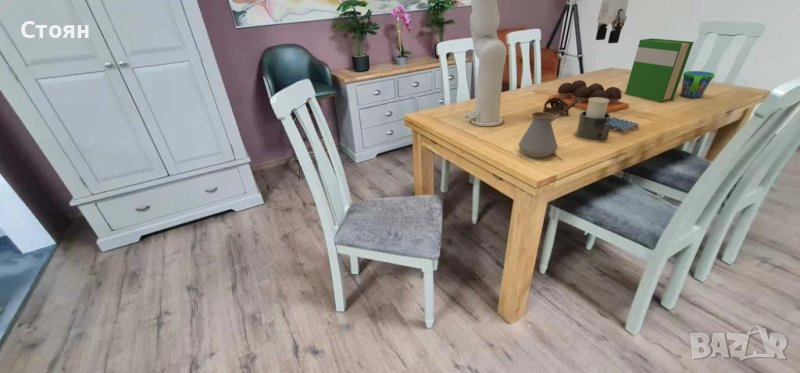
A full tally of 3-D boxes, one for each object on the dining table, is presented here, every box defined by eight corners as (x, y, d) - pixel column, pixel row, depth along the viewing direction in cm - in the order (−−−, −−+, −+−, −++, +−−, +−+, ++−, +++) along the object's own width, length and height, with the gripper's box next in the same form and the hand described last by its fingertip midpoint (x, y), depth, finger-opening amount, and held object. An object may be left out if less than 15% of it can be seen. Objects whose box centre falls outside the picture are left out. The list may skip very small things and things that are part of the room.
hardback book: (673, 100, 148) (693, 41, 136) (660, 102, 146) (680, 43, 134) (636, 91, 163) (652, 38, 151) (624, 93, 161) (640, 39, 149)
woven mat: (594, 127, 125) (595, 121, 124) (611, 121, 130) (612, 116, 129) (621, 135, 117) (623, 129, 116) (639, 128, 122) (641, 123, 121)
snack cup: (680, 90, 160) (688, 68, 155) (708, 94, 153) (717, 71, 148) (672, 98, 151) (680, 74, 146) (702, 101, 144) (711, 77, 139)
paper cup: (587, 139, 114) (596, 102, 108) (577, 133, 120) (584, 98, 113) (604, 137, 115) (613, 101, 109) (592, 131, 120) (601, 96, 114)
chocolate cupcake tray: (628, 107, 143) (633, 87, 139) (601, 114, 137) (606, 93, 133) (573, 94, 165) (576, 76, 161) (548, 99, 159) (551, 81, 155)
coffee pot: (536, 164, 101) (544, 116, 94) (510, 151, 110) (515, 107, 103) (585, 148, 109) (596, 103, 102) (556, 138, 118) (564, 95, 111)
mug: (570, 133, 121) (575, 112, 117) (593, 131, 122) (598, 109, 118) (592, 146, 111) (598, 123, 107) (617, 143, 111) (623, 120, 108)
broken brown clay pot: (573, 118, 136) (568, 103, 131) (549, 128, 139) (544, 113, 135) (564, 103, 144) (559, 88, 139) (542, 112, 148) (536, 98, 143)
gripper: (596, -13, 120) (585, 39, 129) (620, -14, 105) (606, 45, 114) (617, -14, 120) (605, 38, 128) (645, -15, 105) (629, 43, 113)
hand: (606, 41), depth 121 cm, fingers open, 9 cm apart
